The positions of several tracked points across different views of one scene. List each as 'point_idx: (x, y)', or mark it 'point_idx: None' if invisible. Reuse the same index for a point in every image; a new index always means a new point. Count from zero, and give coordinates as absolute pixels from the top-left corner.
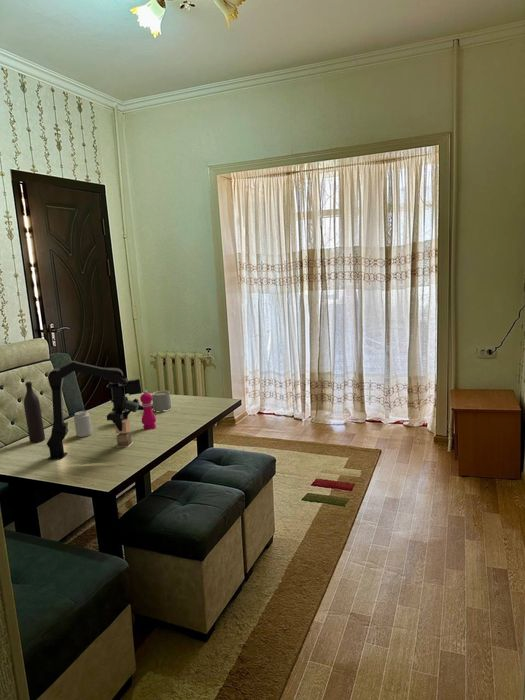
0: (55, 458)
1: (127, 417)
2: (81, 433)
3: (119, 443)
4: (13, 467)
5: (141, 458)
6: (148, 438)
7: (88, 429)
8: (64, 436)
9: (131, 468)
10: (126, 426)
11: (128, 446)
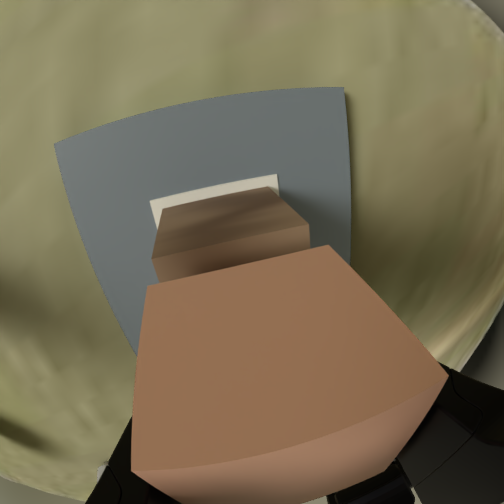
0: None
1: (98, 502)
2: None
3: None
4: None
5: (424, 20)
6: (16, 144)
7: None
8: (399, 471)
9: (498, 60)
10: (350, 312)
11: (273, 182)
